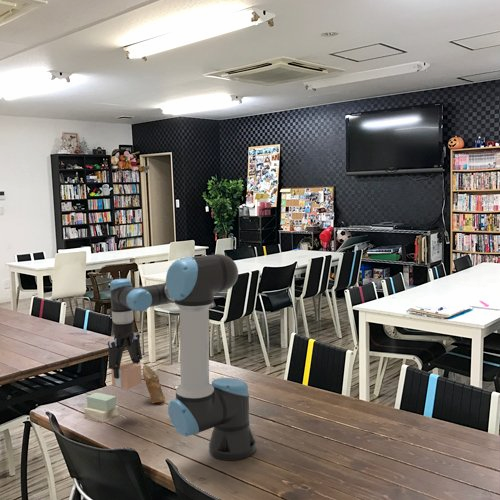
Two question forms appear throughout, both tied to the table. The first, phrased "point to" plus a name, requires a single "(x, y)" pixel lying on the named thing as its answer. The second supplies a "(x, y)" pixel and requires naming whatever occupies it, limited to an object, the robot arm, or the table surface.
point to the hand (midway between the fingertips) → (127, 383)
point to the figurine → (153, 385)
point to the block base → (101, 414)
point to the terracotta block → (129, 375)
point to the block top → (101, 401)
